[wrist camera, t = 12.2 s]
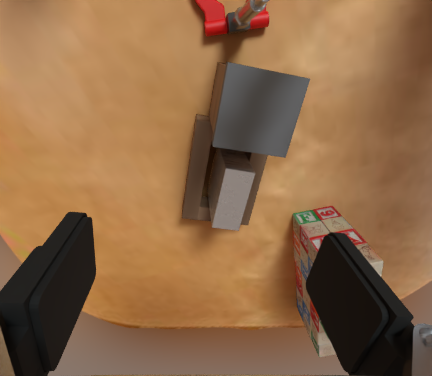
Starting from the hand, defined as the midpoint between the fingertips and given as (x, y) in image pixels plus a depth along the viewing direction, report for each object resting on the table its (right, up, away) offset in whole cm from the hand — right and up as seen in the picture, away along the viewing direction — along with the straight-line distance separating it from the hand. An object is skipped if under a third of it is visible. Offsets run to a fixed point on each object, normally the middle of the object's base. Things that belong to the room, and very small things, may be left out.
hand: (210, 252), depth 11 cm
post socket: (+2, +8, +24) cm, 25 cm away
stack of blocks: (+16, -10, +34) cm, 39 cm away
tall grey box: (+1, +5, +25) cm, 26 cm away
